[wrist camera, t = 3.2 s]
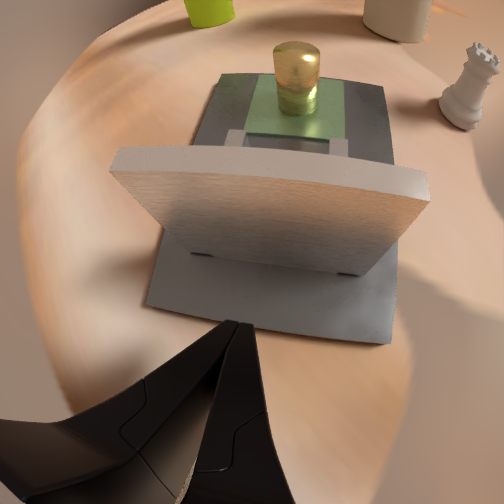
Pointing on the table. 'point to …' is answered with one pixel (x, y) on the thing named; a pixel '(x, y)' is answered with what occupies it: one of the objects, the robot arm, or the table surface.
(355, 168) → the grey bracket
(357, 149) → the base
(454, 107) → the rook chess piece
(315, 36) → the table surface
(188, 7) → the soap dispenser
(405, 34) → the travel mug
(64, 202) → the table surface
